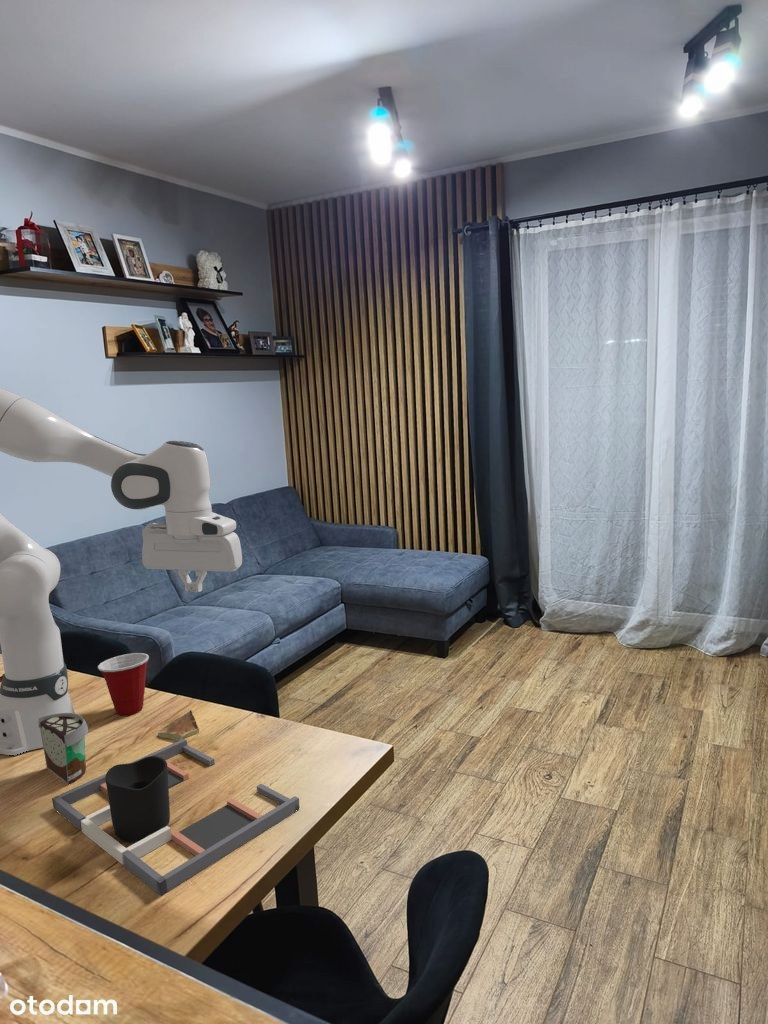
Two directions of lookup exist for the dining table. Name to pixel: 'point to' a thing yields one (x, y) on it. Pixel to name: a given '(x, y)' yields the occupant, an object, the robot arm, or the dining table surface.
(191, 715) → the shard
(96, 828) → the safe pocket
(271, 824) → the box
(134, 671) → the plastic cup
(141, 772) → the pen holder
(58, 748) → the food container
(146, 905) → the dining table surface
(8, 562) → the robot arm
